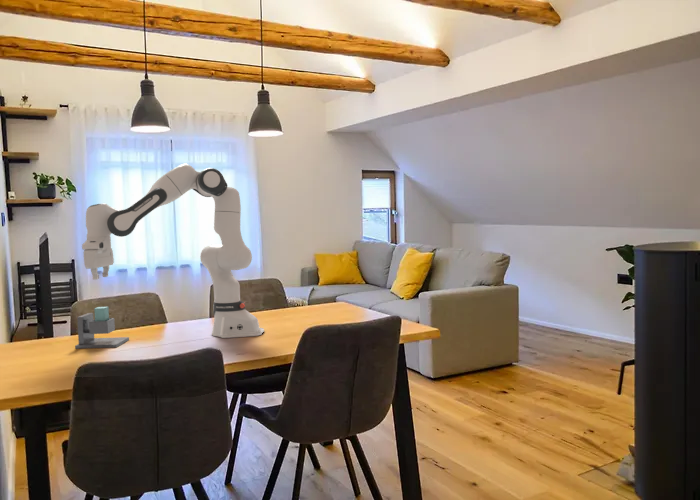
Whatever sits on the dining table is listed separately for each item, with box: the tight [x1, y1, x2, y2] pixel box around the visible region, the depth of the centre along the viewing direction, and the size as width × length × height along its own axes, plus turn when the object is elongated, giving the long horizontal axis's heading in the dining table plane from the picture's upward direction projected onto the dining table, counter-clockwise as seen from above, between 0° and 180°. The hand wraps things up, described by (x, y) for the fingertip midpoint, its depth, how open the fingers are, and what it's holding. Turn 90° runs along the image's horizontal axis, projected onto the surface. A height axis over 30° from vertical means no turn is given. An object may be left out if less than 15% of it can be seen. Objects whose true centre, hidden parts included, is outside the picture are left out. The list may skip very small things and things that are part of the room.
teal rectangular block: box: [94, 306, 110, 321], centre depth 228 cm, size 4×4×9 cm
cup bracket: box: [74, 312, 130, 350], centre depth 229 cm, size 16×14×12 cm
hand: (100, 278), depth 228 cm, fingers open, 8 cm apart
